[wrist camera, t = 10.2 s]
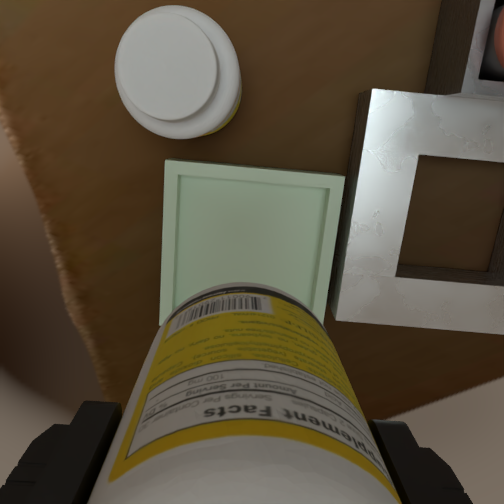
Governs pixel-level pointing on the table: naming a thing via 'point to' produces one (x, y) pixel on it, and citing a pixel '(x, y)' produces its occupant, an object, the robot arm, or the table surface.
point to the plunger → (494, 49)
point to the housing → (401, 182)
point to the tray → (247, 230)
